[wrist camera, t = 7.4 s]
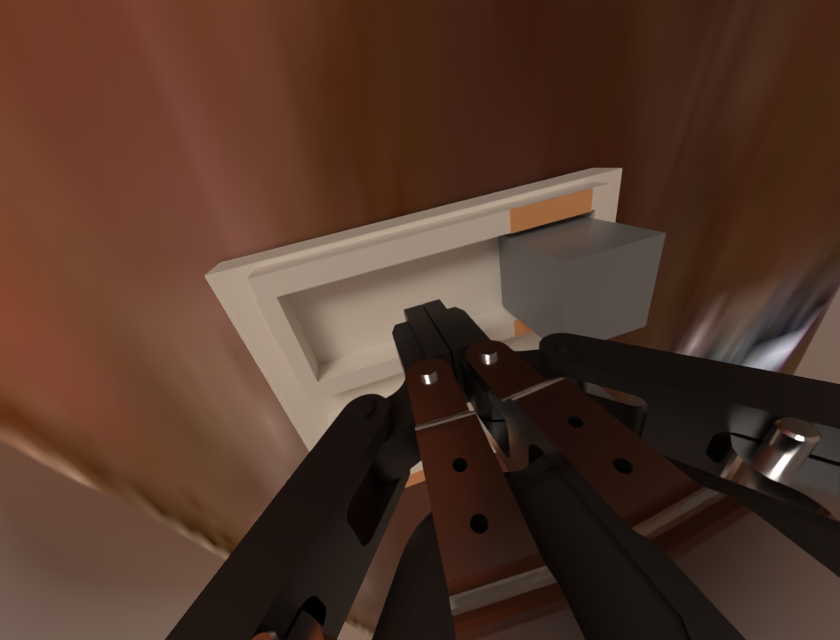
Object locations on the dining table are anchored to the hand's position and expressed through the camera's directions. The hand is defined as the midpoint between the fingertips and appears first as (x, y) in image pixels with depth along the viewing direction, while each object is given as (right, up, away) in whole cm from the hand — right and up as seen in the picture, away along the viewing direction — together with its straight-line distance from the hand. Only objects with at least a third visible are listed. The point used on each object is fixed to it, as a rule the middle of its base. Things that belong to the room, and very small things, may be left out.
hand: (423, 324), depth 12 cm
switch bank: (+1, -1, +7) cm, 7 cm away
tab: (+6, +3, +4) cm, 8 cm away
